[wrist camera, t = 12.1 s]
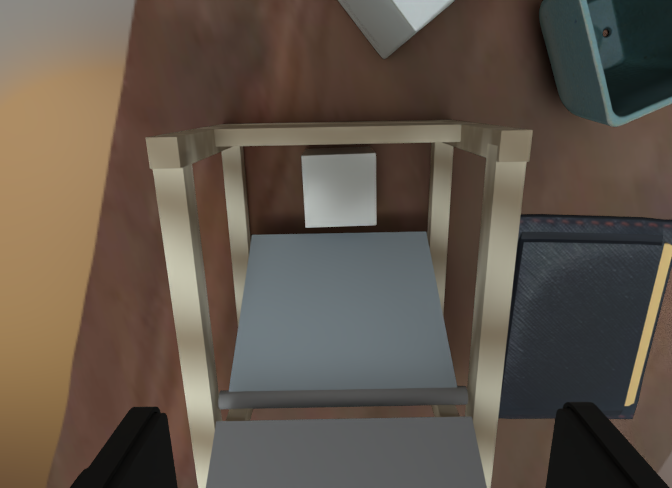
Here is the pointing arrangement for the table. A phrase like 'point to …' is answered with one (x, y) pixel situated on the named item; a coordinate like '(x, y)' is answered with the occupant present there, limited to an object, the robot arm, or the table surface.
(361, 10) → the supplement box
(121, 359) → the table surface
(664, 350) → the table surface
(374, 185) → the cube
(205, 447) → the frame
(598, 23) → the flower pot
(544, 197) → the table surface
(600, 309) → the wallet
